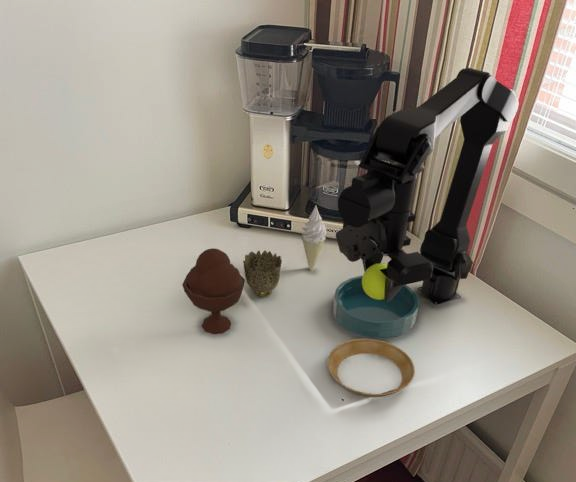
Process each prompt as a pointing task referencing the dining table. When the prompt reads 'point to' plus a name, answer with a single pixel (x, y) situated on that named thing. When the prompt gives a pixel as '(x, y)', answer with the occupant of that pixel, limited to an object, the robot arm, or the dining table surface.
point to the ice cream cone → (313, 237)
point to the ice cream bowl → (214, 288)
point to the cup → (262, 272)
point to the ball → (374, 281)
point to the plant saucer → (378, 349)
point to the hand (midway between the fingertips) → (378, 291)
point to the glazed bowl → (374, 311)
